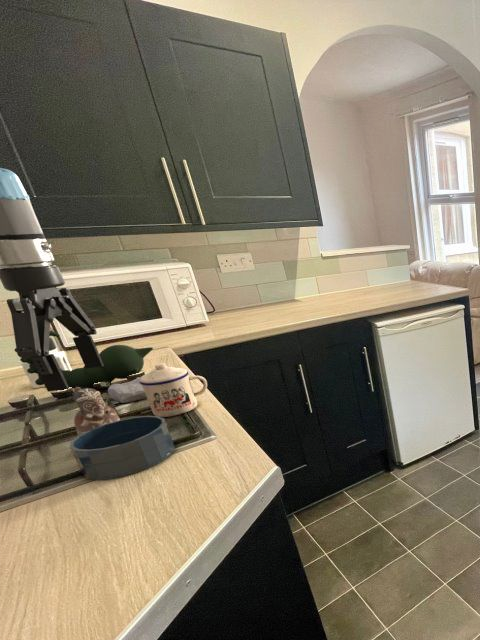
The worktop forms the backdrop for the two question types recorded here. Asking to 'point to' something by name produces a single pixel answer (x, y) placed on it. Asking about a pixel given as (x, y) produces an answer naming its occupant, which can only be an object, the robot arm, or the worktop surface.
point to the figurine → (91, 410)
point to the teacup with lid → (170, 390)
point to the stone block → (127, 391)
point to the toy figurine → (116, 365)
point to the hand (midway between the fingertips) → (78, 377)
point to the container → (59, 357)
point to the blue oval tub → (122, 447)
